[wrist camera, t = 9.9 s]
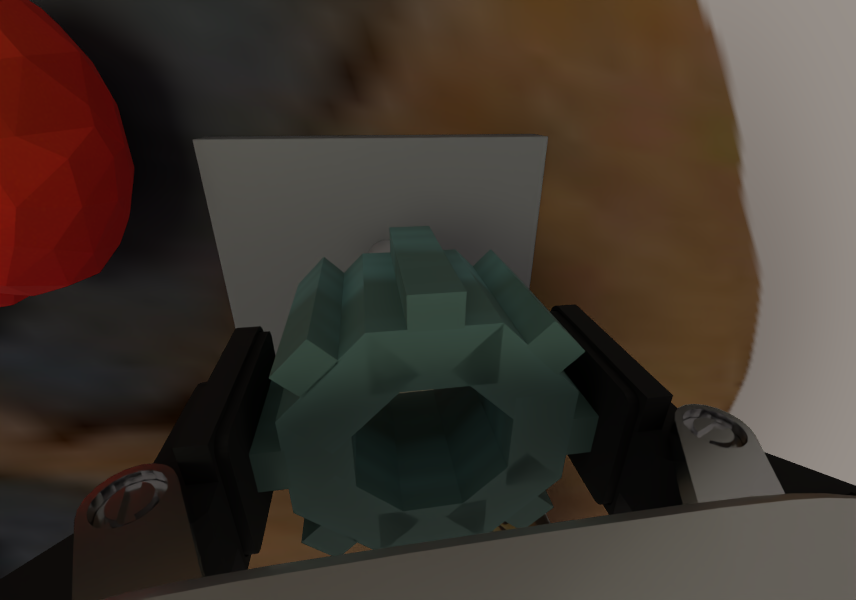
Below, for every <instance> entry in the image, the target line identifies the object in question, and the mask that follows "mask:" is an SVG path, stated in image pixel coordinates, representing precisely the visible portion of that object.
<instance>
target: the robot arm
mask: <svg viewBox="0 0 856 600" xmlns="http://www.w3.org/2000/svg"><path fill="white" fill-rule="evenodd" d="M549 312H550V313H551V314H552V315H553V316H554V317H555V318H556V319H557V321H558V322H559V323H560V324H561V325H562V326H563V327H564V328H565V329H566V330H567V332H568V333H569V334H570V335H571V336H572V337H573V338H574V339H575V340H576V341H577V342H578V344H579V345H580V346H581V347H582V348H583V349H584V350H585V352H584V353H583V354H582V355H581V356H579V357H578V358H577V359H576V360H575V361H573V362H572V363H571V364H570V365H569V366H567V367H566V368H565V369H564V371H565V373H566V374H567V375H568V377H569V378H570V379H571V380H572V382H573V383H574V384H575V386H576V387H577V388H578V390H579V391H580V392H581V394H582V395H583V396H584V397H585V399H586V400H587V401H588V403H589V404H590V405H591V407H592V408H593V409H594V411H595V412H596V413H597V414H598V416H599V418H598V422H597V427H596V431H595V435H594V439H593V443H592V448H591V452H586V453H578V454H569V455H568V456H569V458H570V460H571V461H572V463H573V465H574V466H575V468H576V470H577V471H578V473H579V475H580V476H581V478H582V480H583V482H584V483H585V485H586V487H587V488H588V490H589V492H590V493H591V495H592V497H593V498H594V500H595V501H596V502H597V503H598V504H603V505H604V507H605V509H606V510H607V512H608V514H609V515H606V516H599V517H592V518H585V519H578V520H571V521H564V522H557V523H550V524H543V525H537V526H530V527H523V528H516V529H509V530H502V531H496V532H489V533H482V534H475V535H469V536H462V537H455V538H448V539H442V540H435V541H428V542H421V543H415V544H408V545H401V546H395V547H388V548H382V549H375V550H369V551H362V552H356V553H349V554H343V555H336V556H330V557H323V558H317V559H310V560H304V561H297V562H290V563H284V564H277V565H271V566H266V567H260V568H254V569H248V566H249V561H250V557H251V554H257V553H259V551H260V549H261V545H262V541H263V536H264V531H265V527H266V522H267V517H268V513H269V508H270V503H271V499H272V494H273V491H266V492H258V490H257V486H256V482H255V478H254V474H253V470H252V466H251V462H250V458H249V452H250V449H251V446H252V442H253V439H254V436H255V433H256V429H257V426H258V423H259V419H260V416H261V413H262V409H263V406H264V403H265V400H266V396H267V393H268V390H269V386H270V383H271V379H269V375H270V372H271V369H272V366H273V363H274V360H275V350H274V345H273V340H272V335H271V332H270V331H266V332H264V331H263V329H262V327H261V326H256V327H242V328H236V329H235V331H234V333H233V335H232V336H231V338H230V340H229V342H228V344H227V346H226V348H225V350H224V352H223V353H222V355H221V357H220V359H219V361H218V363H217V365H216V367H215V369H214V370H213V372H212V374H211V376H210V378H209V380H208V382H202V383H200V384H198V386H197V387H196V388H195V390H194V392H193V394H192V395H191V397H190V399H189V401H188V402H187V404H186V406H185V408H184V410H183V411H182V413H181V415H180V417H179V419H178V420H177V422H176V424H175V426H174V427H173V429H172V431H171V433H170V435H169V436H168V438H167V440H166V442H165V444H164V445H163V447H162V449H161V451H160V452H159V454H158V456H157V458H156V460H155V461H154V463H152V464H143V465H139V466H135V467H132V468H129V469H126V470H124V471H122V472H120V473H118V474H116V475H114V476H111V477H110V478H108V479H107V480H105V481H104V482H103V483H101V484H100V485H98V486H97V487H96V488H95V489H94V490H93V491H92V492H91V493H90V494H89V495H88V496H86V497H85V499H84V500H83V502H82V503H81V505H80V506H79V508H78V509H77V512H76V516H75V520H74V533H73V534H72V535H70V536H69V537H67V538H65V539H64V540H62V541H61V542H59V543H57V544H56V545H54V546H53V547H51V548H49V549H48V550H46V551H45V552H43V553H41V554H40V555H38V556H37V557H35V558H33V559H32V560H30V561H29V562H27V563H25V564H24V565H22V566H21V567H19V568H17V569H16V570H14V571H13V572H11V573H9V574H8V575H6V576H5V577H3V578H2V579H0V600H856V486H855V485H852V484H849V483H847V482H844V481H841V480H839V479H836V478H833V477H830V476H828V475H825V474H822V473H819V472H817V471H814V470H811V469H808V468H806V467H803V466H801V465H798V464H795V463H792V462H790V461H787V460H784V459H782V458H779V457H776V456H773V455H771V454H768V453H765V452H764V451H763V449H762V447H761V446H760V443H759V441H758V439H757V438H756V436H755V434H754V433H753V432H752V430H751V429H750V428H749V427H748V426H747V425H746V424H745V423H743V422H742V421H741V420H740V419H738V418H736V417H735V416H733V415H731V414H729V413H727V412H725V411H722V410H720V409H718V408H714V407H710V406H706V405H699V404H689V405H684V406H681V407H679V408H676V407H675V406H674V405H673V404H672V403H671V400H672V397H673V395H672V394H671V393H670V392H669V391H668V390H667V389H666V388H665V387H663V386H662V385H661V384H660V383H659V382H658V381H657V380H656V379H655V378H654V377H653V376H652V375H651V374H650V373H648V372H647V371H646V370H645V369H644V368H643V367H642V366H641V365H640V364H639V363H638V362H637V361H636V360H635V359H633V358H632V357H631V356H630V355H629V354H628V353H627V352H626V351H625V350H624V349H623V348H622V347H621V346H620V345H618V344H617V343H616V342H615V341H614V340H613V339H612V338H611V337H610V336H609V335H608V334H607V333H606V332H605V331H604V330H602V329H601V328H600V327H599V326H598V325H597V324H596V323H595V322H594V321H593V320H592V319H591V318H590V317H589V316H587V315H586V314H585V313H584V312H583V311H582V310H581V309H580V308H579V307H578V306H576V305H561V306H554V307H553V308H552V310H551V311H549Z"/></svg>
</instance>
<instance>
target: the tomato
mask: <svg viewBox="0 0 856 600" xmlns="http://www.w3.org/2000/svg"><path fill="white" fill-rule="evenodd" d="M133 178H134V165H133V161H132V157H131V153H130V150H129V146H128V142H127V139H126V135H125V131H124V128H123V124H122V120H121V116H120V113H119V109H118V105H117V104H116V102H115V100H114V98H113V97H112V95H111V93H110V92H109V90H108V88H107V86H106V85H105V83H104V81H103V79H102V78H101V76H100V74H99V73H98V71H97V69H96V67H95V66H94V64H93V62H92V61H91V60H90V59H89V58H88V57H87V56H86V54H85V53H84V52H83V51H82V50H81V49H80V48H79V47H78V46H77V44H76V43H75V42H74V41H73V40H72V39H71V38H70V37H69V35H68V34H67V33H66V32H65V31H64V30H63V29H62V28H61V26H60V25H58V24H57V23H56V22H55V21H54V20H53V19H52V18H51V17H50V16H49V15H48V14H47V13H46V12H45V11H44V10H42V9H41V8H40V7H38V6H37V5H35V4H34V3H32V2H31V1H29V0H0V307H4V306H10V305H14V304H16V303H18V302H19V301H21V300H23V299H25V298H26V297H28V296H35V295H39V294H42V293H46V292H49V291H53V290H56V289H60V288H63V287H67V286H69V285H72V284H74V283H76V282H79V281H81V280H84V279H86V278H89V277H91V276H93V275H96V274H98V273H100V272H101V270H102V269H103V267H104V266H105V265H106V263H107V262H108V260H109V259H110V257H111V256H112V255H113V253H114V252H115V250H116V249H117V247H118V246H119V245H120V243H121V240H122V237H123V234H124V231H125V228H126V225H127V223H128V220H129V215H130V210H131V197H132V189H133Z"/></svg>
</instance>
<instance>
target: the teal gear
mask: <svg viewBox="0 0 856 600" xmlns="http://www.w3.org/2000/svg"><path fill="white" fill-rule="evenodd" d="M389 234H390V252H385V253H363V254H362V255H361V256H360V257H359V258H358V259H357V260H356V261H355V262H354V263H353V264H352V265H351V266H350V267H349V268H348V269H347V270H346V271H345V272H343V271H341V270H340V269H339V268H338V267H336V266H335V265H334V264H332V263H331V262H330V261H329V260H327V259H326V258H325V257H323V258H322V259H321V260H320V261H319V263H318V264H317V265H316V266H315V267H314V268H313V269H312V270H311V271H310V272H309V273H308V274H307V275H306V277H305V278H304V279H303V280H302V281H301V282H300V283H299V284H298V287H297V290H296V293H295V297H294V300H293V303H292V306H291V309H290V312H289V315H288V319H287V322H286V325H285V328H284V331H283V334H282V338H281V341H280V344H279V347H278V350H277V353H276V356H275V360H274V363H273V366H272V369H271V372H270V375H269V379H271V383H270V386H269V390H268V393H267V396H266V400H265V403H264V406H263V409H262V413H261V416H260V419H259V423H258V426H257V429H256V433H255V436H254V439H253V442H252V446H251V449H250V452H249V458H250V462H251V466H252V470H253V474H254V478H255V482H256V486H257V490H258V492H266V491H275V490H283V489H289V493H290V498H291V503H292V508H293V513H295V514H297V515H299V516H302V517H304V526H303V534H302V542H301V543H303V544H306V545H308V546H310V547H313V548H315V549H317V550H320V551H322V552H324V553H327V554H329V555H331V556H336V555H343V554H344V553H345V552H346V551H347V550H349V549H350V548H351V547H352V546H353V545H354V544H356V543H357V542H358V543H360V544H362V545H364V546H367V547H369V548H371V549H373V550H375V549H382V548H388V547H395V546H401V545H408V544H415V543H421V542H428V541H435V540H442V539H448V538H455V537H462V536H469V535H475V534H482V533H489V532H491V531H493V530H494V529H495V528H497V527H498V526H499V525H500V524H502V523H503V522H504V521H506V522H507V523H509V524H511V525H512V526H514V527H516V528H523V527H528V526H529V525H531V524H532V523H533V522H535V521H536V520H537V519H539V518H540V517H541V516H543V515H544V514H545V513H547V512H548V511H549V510H551V509H552V508H553V505H552V503H551V500H550V498H549V496H548V494H547V492H546V489H547V488H549V487H550V486H551V485H553V484H554V483H555V482H557V481H558V480H559V479H560V478H561V477H562V472H563V467H564V462H565V457H566V455H569V454H578V453H586V452H591V448H592V443H593V439H594V435H595V431H596V427H597V422H598V418H599V416H598V414H597V413H596V412H595V411H594V409H593V408H592V407H591V405H590V404H589V403H588V401H587V400H586V399H585V397H584V396H583V395H582V394H581V392H580V391H579V390H578V388H577V387H576V386H575V384H574V383H573V382H572V380H571V379H570V378H569V377H568V375H567V374H566V373H565V371H564V369H565V368H566V367H567V366H569V365H570V364H571V363H572V362H573V361H575V360H576V359H577V358H578V357H579V356H581V355H582V354H583V353H584V352H585V350H584V349H583V348H582V347H581V346H580V345H579V344H578V342H577V341H576V340H575V339H574V338H573V337H572V336H571V335H570V334H569V333H568V332H567V330H566V329H565V328H564V327H563V326H562V325H561V324H560V323H559V322H558V321H557V319H556V318H555V317H554V316H553V315H552V314H551V313H550V312H549V311H548V310H547V308H546V307H545V306H544V305H543V304H542V303H541V302H540V301H539V300H538V299H537V297H536V296H535V295H534V294H533V293H532V292H531V291H530V290H529V289H528V288H527V287H526V285H525V284H524V283H523V282H522V281H521V280H520V279H519V278H518V277H517V276H516V274H515V273H514V272H513V271H512V270H511V269H510V268H509V267H508V266H507V265H506V264H505V263H504V262H503V261H502V260H501V259H500V258H499V257H498V256H497V255H496V254H495V253H494V252H493V251H492V250H491V249H490V250H489V251H488V252H487V253H486V254H485V255H484V256H483V257H482V258H481V259H480V260H479V261H478V262H477V263H476V264H475V265H473V266H472V265H471V264H470V263H469V262H468V261H467V260H466V259H465V258H464V257H463V256H462V255H461V254H460V253H459V252H458V251H457V250H456V249H451V250H443V249H442V248H441V246H440V244H439V242H438V241H437V239H436V237H435V235H434V234H433V232H432V230H431V229H430V227H429V226H414V227H389ZM432 389H434V390H432ZM422 390H426V391H422ZM411 391H416V392H411ZM400 392H405V393H400Z"/></svg>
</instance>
